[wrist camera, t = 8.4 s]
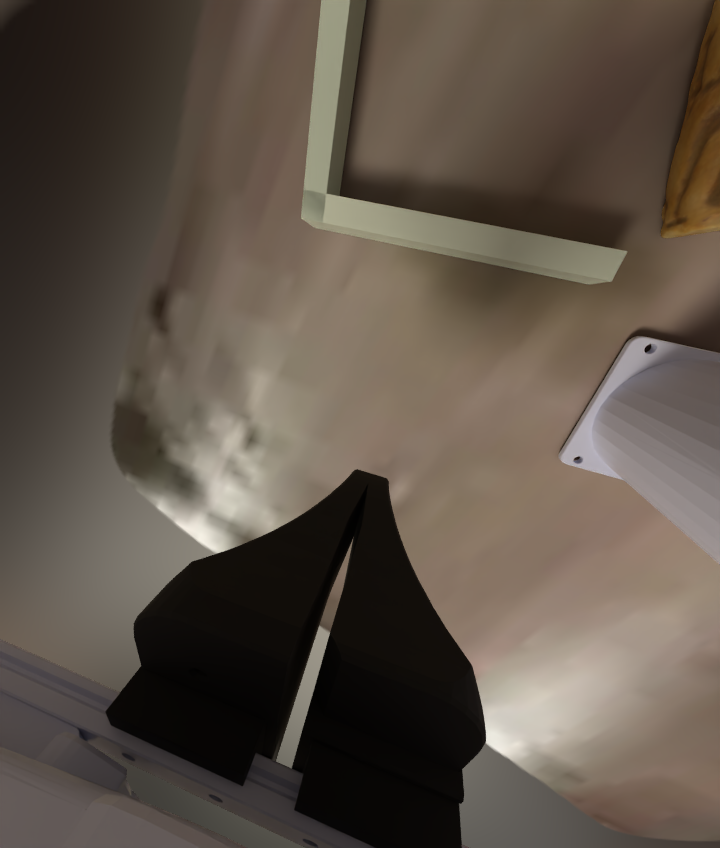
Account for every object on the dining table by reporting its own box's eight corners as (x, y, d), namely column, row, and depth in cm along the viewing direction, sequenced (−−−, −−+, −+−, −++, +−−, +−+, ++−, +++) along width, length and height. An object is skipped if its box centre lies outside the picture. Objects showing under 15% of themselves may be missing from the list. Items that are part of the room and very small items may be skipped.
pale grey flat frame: (853, -242, 8) (971, -392, 7) (588, 284, 14) (611, 281, 13) (368, -243, 10) (355, -364, 8) (315, 228, 16) (301, 218, 14)
